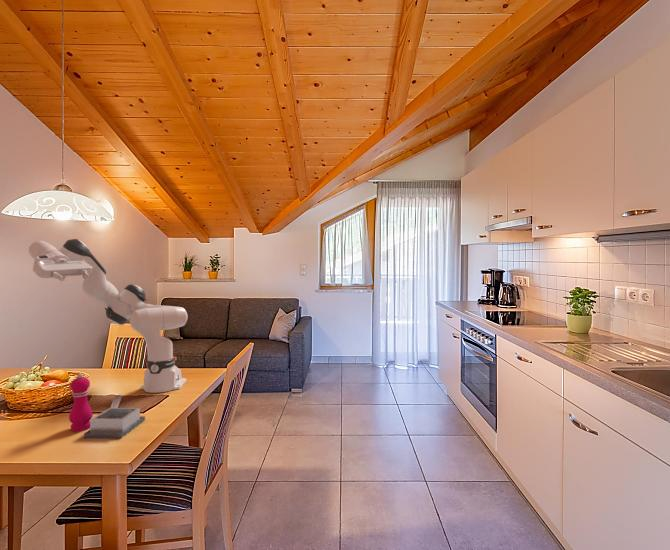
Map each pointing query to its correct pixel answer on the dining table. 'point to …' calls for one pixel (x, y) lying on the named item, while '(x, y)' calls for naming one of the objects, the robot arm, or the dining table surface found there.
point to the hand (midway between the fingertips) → (75, 278)
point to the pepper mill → (80, 404)
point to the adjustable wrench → (116, 401)
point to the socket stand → (114, 423)
